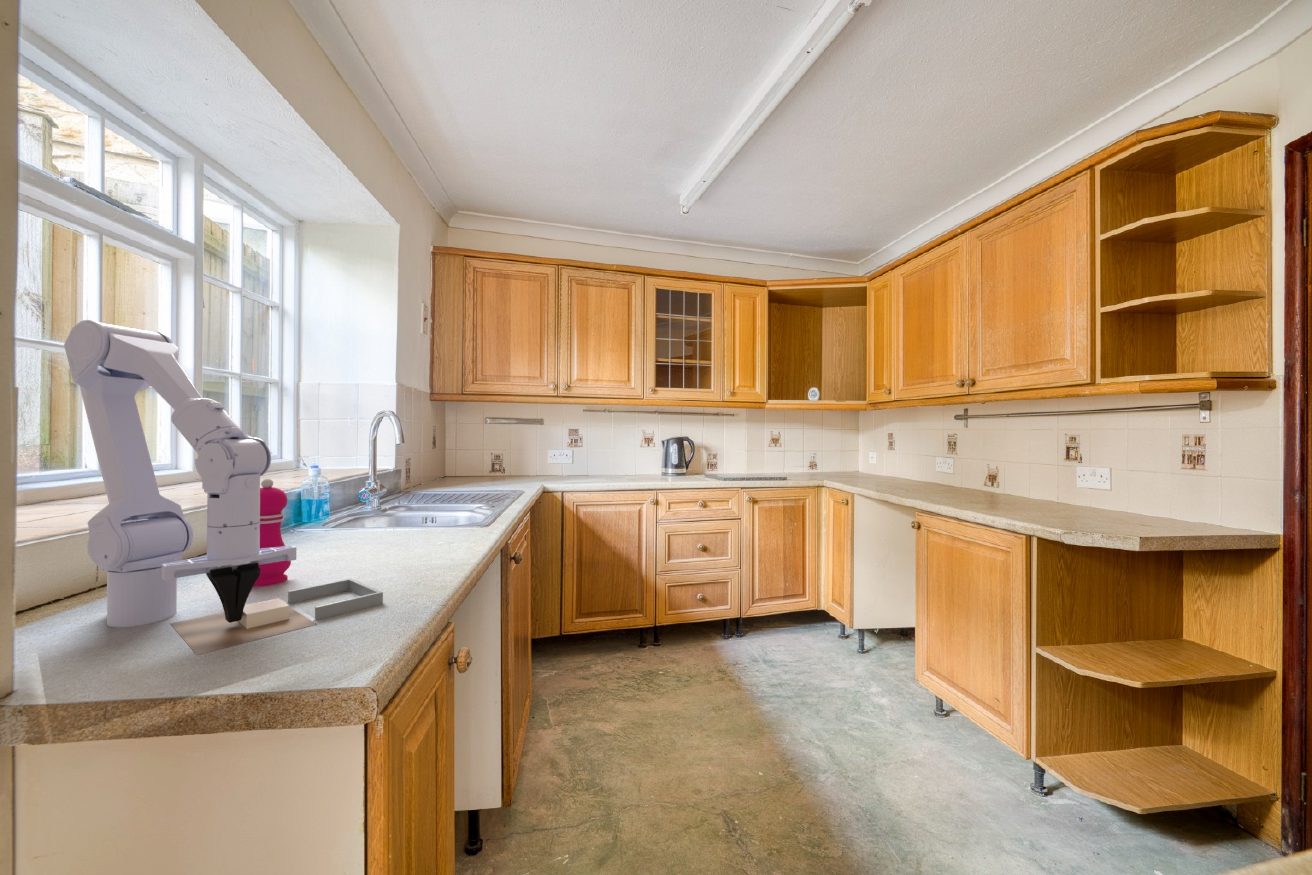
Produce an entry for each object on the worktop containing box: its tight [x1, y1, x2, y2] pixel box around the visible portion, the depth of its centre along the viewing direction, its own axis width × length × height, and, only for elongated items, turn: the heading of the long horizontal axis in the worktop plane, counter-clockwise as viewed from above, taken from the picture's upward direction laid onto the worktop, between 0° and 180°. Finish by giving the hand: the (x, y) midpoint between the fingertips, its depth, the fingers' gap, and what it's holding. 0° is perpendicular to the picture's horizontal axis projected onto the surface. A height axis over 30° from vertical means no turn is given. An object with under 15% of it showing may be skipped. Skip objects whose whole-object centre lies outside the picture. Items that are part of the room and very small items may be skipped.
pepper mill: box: [252, 478, 292, 588], centre depth 93 cm, size 7×7×20 cm
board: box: [170, 607, 318, 656], centre depth 73 cm, size 16×13×1 cm
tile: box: [239, 597, 289, 629], centre depth 74 cm, size 5×5×2 cm
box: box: [286, 577, 384, 622], centre depth 82 cm, size 12×10×3 cm
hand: (233, 619), depth 72 cm, fingers closed
